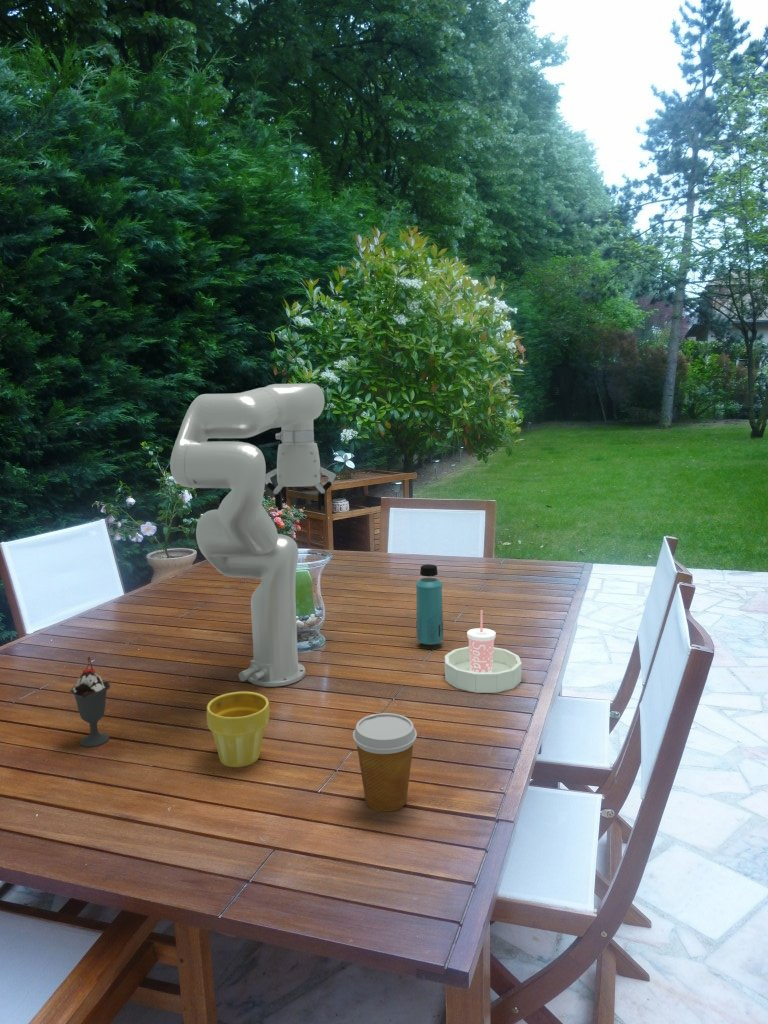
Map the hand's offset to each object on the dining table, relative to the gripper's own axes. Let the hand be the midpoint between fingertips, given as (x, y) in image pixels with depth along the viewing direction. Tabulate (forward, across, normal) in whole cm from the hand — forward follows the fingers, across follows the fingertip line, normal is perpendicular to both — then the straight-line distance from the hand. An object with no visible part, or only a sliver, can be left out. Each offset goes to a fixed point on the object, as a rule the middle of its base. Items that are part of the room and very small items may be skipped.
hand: (300, 509), depth 171 cm
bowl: (+33, +40, -24) cm, 58 cm away
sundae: (+34, -33, -49) cm, 68 cm away
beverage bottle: (+34, +31, -4) cm, 46 cm away
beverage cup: (+32, +40, -24) cm, 57 cm away
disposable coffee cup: (+34, +19, -70) cm, 80 cm away
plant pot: (+34, -5, -56) cm, 66 cm away
